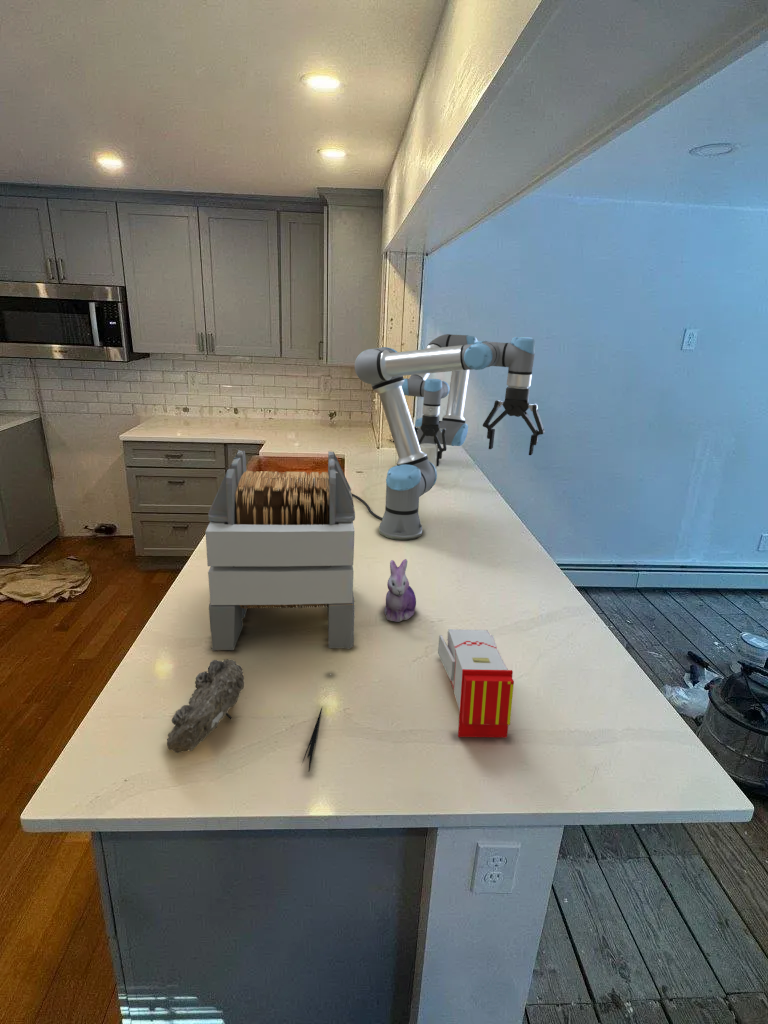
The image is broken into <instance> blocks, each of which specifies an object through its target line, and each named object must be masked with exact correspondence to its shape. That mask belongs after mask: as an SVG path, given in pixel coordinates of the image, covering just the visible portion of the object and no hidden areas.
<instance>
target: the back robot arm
mask: <svg viewBox="0 0 768 1024" xmlns="http://www.w3.org/2000/svg"><path fill="white" fill-rule="evenodd" d="M477 341H479V340H478V339H477V337H476V336H475V335H469V334H450V333H446V334H442V335H438V336H437V337H435V338H433V339H432V340H431V341H429V343H428V344H427V345H426V347H425V348H424V349H432V348H441V347H450V346H460V345H469V344H475V342H477ZM470 372H471V370H460V371H451V375H450V382H449V383H448V382H447V381H444V380H442V379H439V378H429V377H430V375H431V374H432V373H427V374H416V375H409V377H408V378H404V383H403V385H402V390H403V393H404V396H407V397H417V398H423V403H422V416H421V417H419V418H416V419H415V423H414V429H415V432H416V435H417V438H418V442H419V445H420V444H424V443H429V444H436V445H437V446H438V456H437V467H439V465H440V460H441V459H442V458H443V452H446V451H447V446H451V447H461V446H463V445H464V443H465V442H466V438H467V436H468V431H469V425H468V423H466V419H465V416H464V412H465V406H466V398H467V391H468V385H469V376H470ZM447 396H448V397H447ZM446 397H447V404H446V410H445V411H446V412H445V415H443V416H442V419H441V420H440V414H441V404H442V403H441V399H444V398H446Z"/></svg>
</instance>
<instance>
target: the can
mask: <svg viewBox="0 0 768 1024" xmlns="http://www.w3.org/2000/svg"><path fill="white" fill-rule="evenodd" d="M420 448H421V451H422V452H424V453H426V454H427V457H428V460H429V462H431V463H432V464H433V465H434V466H435V468H436V471H437V469H438V466H437V456H438V451H439V449H438V446H437V444H429V443H424V444H420Z"/></svg>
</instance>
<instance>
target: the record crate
mask: <svg viewBox="0 0 768 1024" xmlns="http://www.w3.org/2000/svg"><path fill="white" fill-rule="evenodd" d="M327 456H328V457H327V462H328V463H327V471H322V472H321V473H320V472H319V471H311V472H307V471H284V472H283V471H281V472H278V471H271V470H269V471H267V470H265V471H262V470H261V471H259V470H258V471H257V470H256V471H253V470H247V458H246V450H240V449H238V450H237V452H236V454H235V456H234V457H233V459H232V462H231V464H230V466H229V468H227V470H226V472H225V474H224V477H223V479H222V480H221V483H220V486H219V487H218V490H217V491H216V495H215V496H214V499H213V501H212V503H211V504H210V505H211V506H210V508H209V510H208V513H207V517H208V522H209V523H208V525H207V527H206V529H205V533H204V534H205V548H206V558H207V559H206V563H207V567H209V569H208V571H207V574H208V575H207V577H208V589H209V604H208V615H209V630H210V634H211V647H210V649H211V651H212V652H214V651H215V652H218V651H234V649H235V647H236V645H237V643H238V641H239V638H240V635H241V633H242V630H243V619H245V618H246V614H247V609H249V610H250V609H273V608H274V609H276V608H277V609H280V608H281V609H293V608H294V609H296V608H298V609H302V608H309V609H310V608H315V609H316V608H327V637H328V638H327V639H328V640H327V641H328V649H349V650H350V649H352V648H353V647H354V646H355V645H354V643H355V607H356V606H355V597H354V559H355V558H354V555H355V526H354V525H355V524H354V522H355V520H356V511H355V505H354V499H353V496H352V494H353V493H352V487H351V486H350V484H349V481H348V479H347V477H346V475H345V473H344V471H343V469H342V467H341V464H340V462H339V459H338V458H337V455H336V453H335V452H334V451H330V450H329V451H327Z"/></svg>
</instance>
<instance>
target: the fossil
mask: <svg viewBox="0 0 768 1024" xmlns="http://www.w3.org/2000/svg"><path fill="white" fill-rule="evenodd" d="M243 670H244V669H243V667H242V665H240V664H237V662H236V661H235V660H234V659H232V658H231V659H227V658H226V659H224V660H223V661H222V660H217V659H212V660H211V661H210V663H209V665H208V666H207V671H201V672H199V673H198V674H197V675H196V676H195V680H194V684H195V685H194V687H195V689H194V690H193V693H192V694H191V697H190V698H189V700H188V704H184V705H182V706H181V707H180V709H177V710H176V711H175V713H174V715H173V716H172V718H171V723H172V724H173V727H172V730H171V731H170V732H168V734H167V738H166V741H167V742H166V745H167V749H168V750H169V751H173V752H174V753H176V754H178V753H182V752H188V751H189V752H192V751H193V750H195V748H196V747H197V746H199V744H200V743H201V742H203V741H204V740H205V739H206V738H207V737H208V736H209V735H210V734H211V733H212V732H214V730H215V729H217V727H218V726H219V724H220V722H221V721H222V720H223V719H224V718H225V716H226V717H227V719H229V720H233V717H232V715H230V714H229V710H230V709H231V708H234V706H235V704H236V703H237V702H238V699H239V697H240V695H241V693H242V691H243V690H245V689H244V688H245V675H244V671H243Z"/></svg>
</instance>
